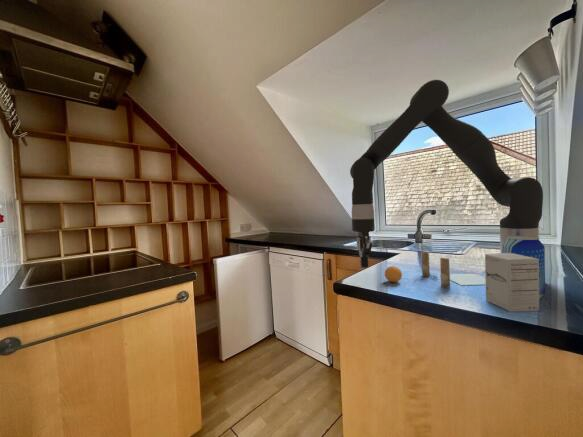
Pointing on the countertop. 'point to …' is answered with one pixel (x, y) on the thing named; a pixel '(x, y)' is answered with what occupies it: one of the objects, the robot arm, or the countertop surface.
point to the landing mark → (467, 279)
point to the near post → (445, 272)
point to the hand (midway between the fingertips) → (364, 267)
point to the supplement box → (512, 281)
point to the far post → (425, 263)
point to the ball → (393, 274)
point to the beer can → (528, 253)
